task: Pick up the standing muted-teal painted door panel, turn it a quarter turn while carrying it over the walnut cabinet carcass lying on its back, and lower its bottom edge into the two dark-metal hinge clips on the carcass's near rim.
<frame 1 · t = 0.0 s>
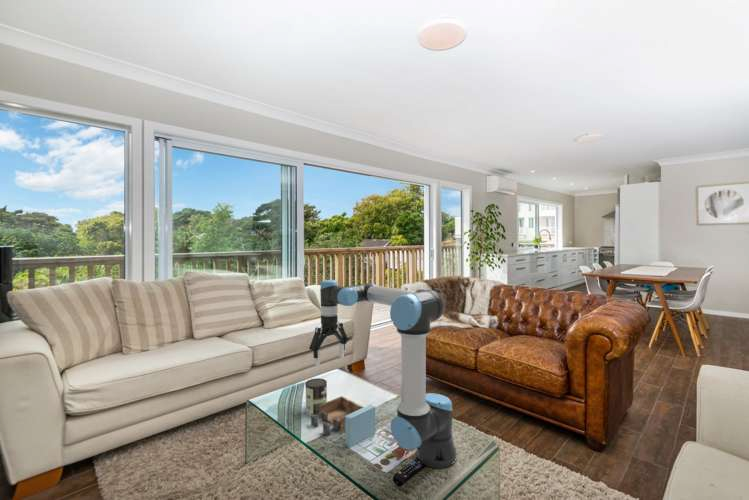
hand: (329, 361, 164), 28 cm above the table, fingers open, 13 cm apart
cabinet: (341, 419, 168), on the table
coffee can: (316, 411, 176), on the table
door: (360, 439, 152), on the table
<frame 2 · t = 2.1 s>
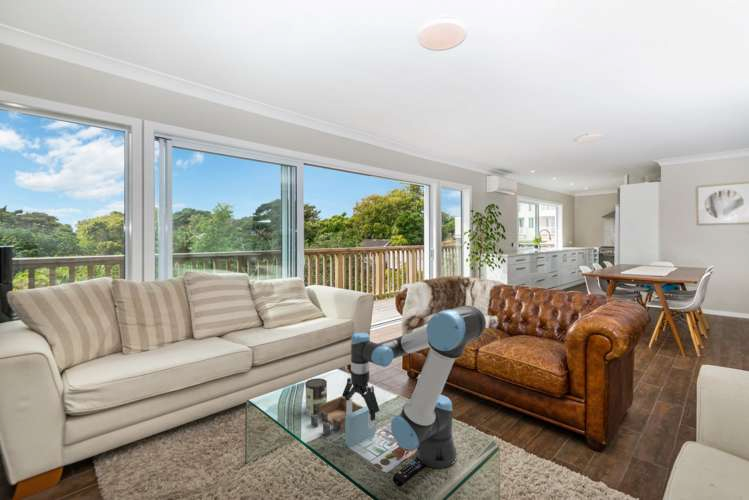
hand: (359, 420, 152), 8 cm above the table, fingers open, 13 cm apart
nothing on the table moved.
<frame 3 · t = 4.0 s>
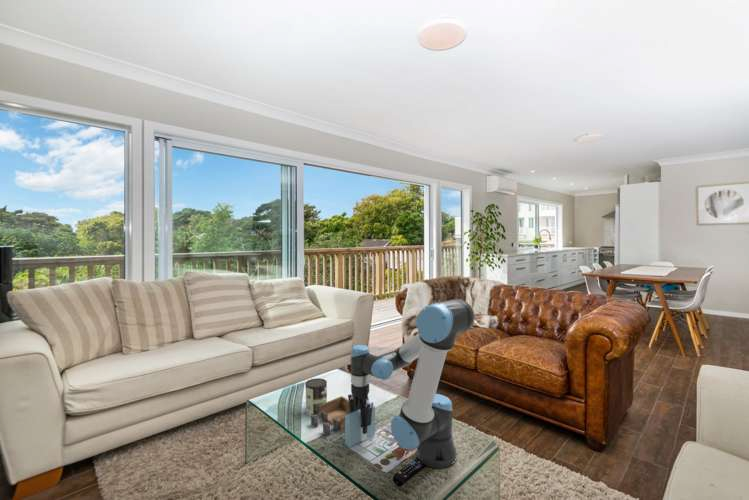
hand: (360, 438, 152), 0 cm above the table, fingers closed on door, 3 cm apart
door: (360, 439, 152), on the table, touching gripper
everything else where it was.
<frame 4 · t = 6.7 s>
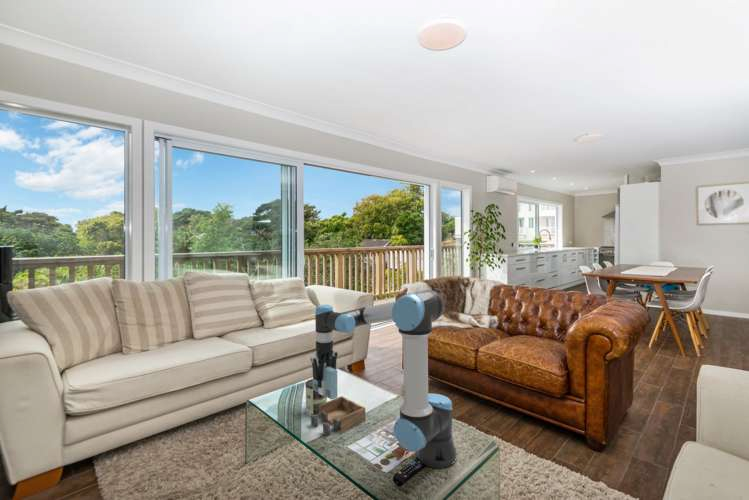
hand: (324, 392, 160), 15 cm above the table, fingers closed on door, 3 cm apart
door: (324, 393, 160), point 15 cm above the table, touching gripper
everything else where it was.
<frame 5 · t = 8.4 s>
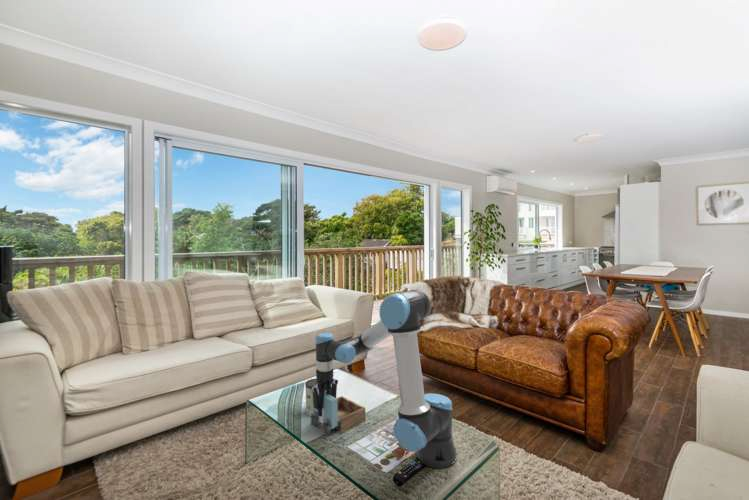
hand: (325, 420, 161), 3 cm above the table, fingers closed on door, 3 cm apart
door: (325, 421, 161), point 3 cm above the table, touching gripper
everything else where it was.
when the fingers open (1 cm above the table, at t = 9.5 s): door drops 1 cm, on the table.
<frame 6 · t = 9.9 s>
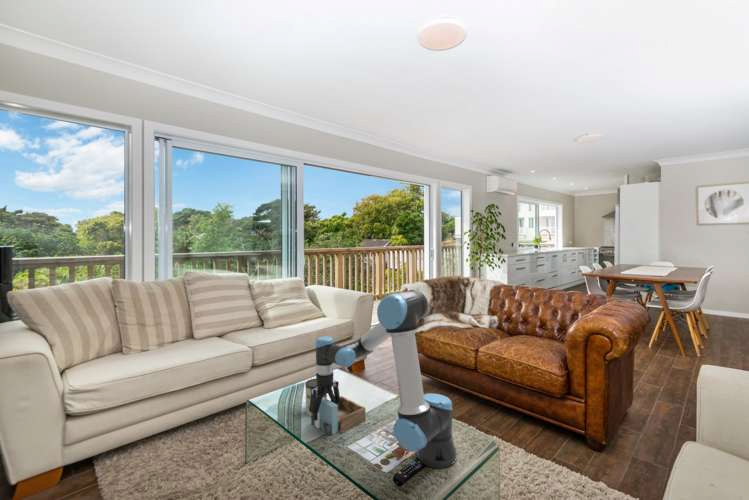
hand: (325, 422, 161), 2 cm above the table, fingers open, 8 cm apart
door: (325, 427, 161), on the table
everything else where it was.
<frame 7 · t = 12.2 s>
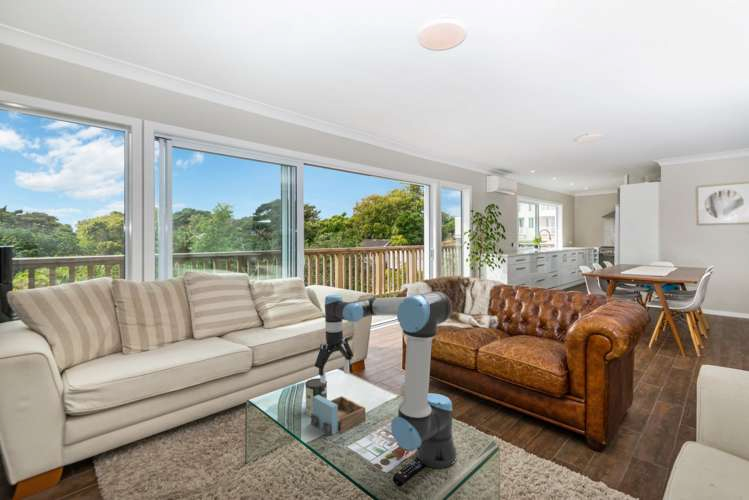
hand: (335, 377, 161), 22 cm above the table, fingers open, 13 cm apart
nothing on the table moved.
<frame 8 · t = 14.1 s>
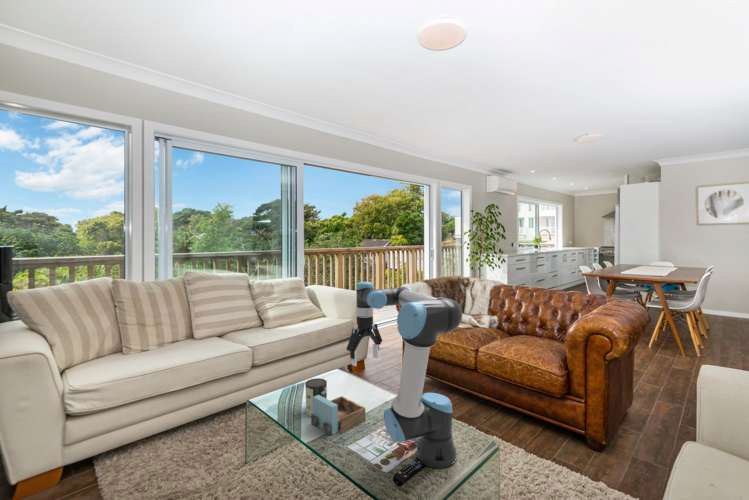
hand: (365, 361, 167), 27 cm above the table, fingers open, 13 cm apart
nothing on the table moved.
at the end: door 0.0 cm from the target spot on the cabinet, point 0.0 cm above the cabinet's base; door tilted 0°; the gripper is holding nothing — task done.
